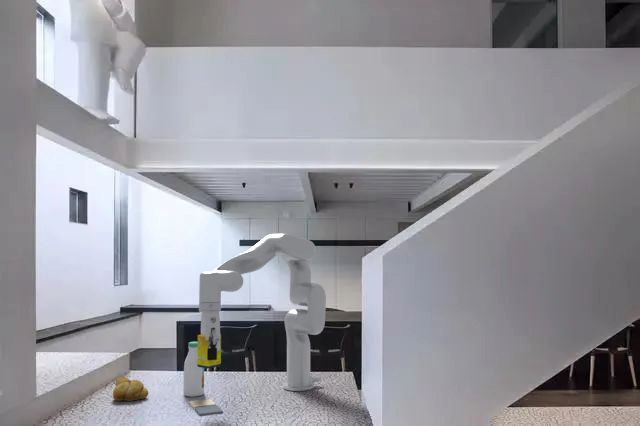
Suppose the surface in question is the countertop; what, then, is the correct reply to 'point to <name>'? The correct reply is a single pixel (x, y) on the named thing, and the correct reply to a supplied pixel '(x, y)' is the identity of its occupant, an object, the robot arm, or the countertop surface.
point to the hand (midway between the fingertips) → (209, 357)
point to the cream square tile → (202, 403)
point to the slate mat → (208, 410)
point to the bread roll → (129, 390)
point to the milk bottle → (193, 373)
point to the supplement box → (202, 353)
